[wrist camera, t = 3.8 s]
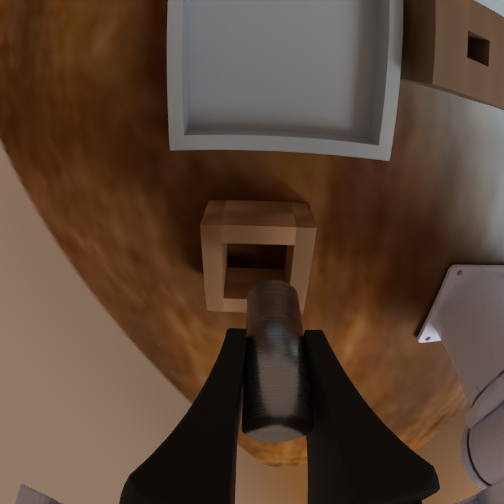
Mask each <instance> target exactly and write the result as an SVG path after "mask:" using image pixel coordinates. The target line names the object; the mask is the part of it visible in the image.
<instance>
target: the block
mask: <svg viewBox="0 0 504 504" xmlns="http://www.w3.org/2000/svg"><path fill="white" fill-rule="evenodd" d="M400 80H404V81H408V82H412V83H416V84H420V85H424V86H427V87H431V88H435V89H438V90H441V91H445V92H448V93H451V94H454V95H457V96H460V97H463V98H466V99H470V100H473V101H477V102H480V103H484V104H487V105H490V106H493V107H496V108H499V109H502V110H504V17H503V16H501V15H499V14H498V13H496V12H494V11H492V10H491V9H489V8H487V7H485V6H483V5H481V4H480V3H478V2H476V1H474V0H403V41H402V60H401V74H400Z"/></svg>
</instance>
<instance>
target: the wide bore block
mask: <svg viewBox="0 0 504 504" xmlns="http://www.w3.org/2000/svg"><path fill="white" fill-rule="evenodd" d="M200 230H201V245H202V258H203V271H204V283H205V295H206V306H207V311H226V312H246V310H247V296H248V293H249V291H250V290H251V289H252V288H253V287H254V286H255V285H257V284H258V283H261V282H263V281H267V280H280V281H284V282H286V283H288V284H290V285H291V286H293V287H294V288H295V290H296V291H297V293H298V298H299V305H300V312H301V313H303V312H304V307H305V301H306V295H307V289H308V283H309V277H310V271H311V265H312V258H313V252H314V245H315V238H316V231H317V227H316V224H315V221H314V218H313V215H312V212H311V209H310V206H309V204H308V203H300V202H276V201H245V200H209V201H208V204H207V206H206V209H205V212H204V215H203V218H202V221H201V224H200ZM227 243H239V244H273V245H287V250H286V260H285V269H267V268H233V267H228V258H227Z"/></svg>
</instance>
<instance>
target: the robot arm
mask: <svg viewBox="0 0 504 504" xmlns="http://www.w3.org/2000/svg"><path fill="white" fill-rule="evenodd" d="M458 271H459V272H458ZM246 331H247V329H237V328H230V329H228V330H227V332H226V336H225V340H224V343H223V346H222V348H221V351H220V353H219V356H218V358H217V360H216V363H215V365H214V367H213V369H212V371H211V373H210V375H209V377H208V379H207V381H206V382H205V384H204V386H203V388H202V389H201V391H200V393H199V395H198V396H197V398H196V400H195V401H194V403H193V404H192V406H191V407H190V409H189V410H188V412H187V413H186V415H185V416H184V417H183V419H182V420H181V421H180V422H179V424H178V425H177V427H176V428H175V429H174V430H173V431H172V433H171V434H170V435H169V436H168V437H167V439H166V440H165V441H164V442H163V443H162V444H161V445H160V446H159V447H158V448H157V449H156V451H155V452H154V453H153V454H152V455H151V456H150V457H149V458H148V459H147V460H146V461H144V462H143V463H142V464H141V465H140V466H139V467H138V468H137V469H136V470H135V471H134V472H132V473H131V474H130V475H129V477H128V479H127V481H126V483H125V485H124V488H123V490H122V493H121V497H120V503H119V504H235V483H236V456H237V439H238V431H239V424H240V417H241V410H242V402H243V384H244V367H245V359H246ZM417 340H418V342H420V343H423V342H433V341H442V343H443V345H444V347H445V349H446V352H447V354H448V356H449V358H450V360H451V362H452V365H453V367H454V369H455V371H456V373H457V376H458V378H459V380H460V383H461V385H462V387H463V390H464V392H465V395H466V397H467V399H468V402H469V405H470V407H471V410H470V411H469V412H468V413H467V414H466V415H465V419H466V421H467V424H468V426H467V427H466V429H465V430H464V432H463V434H462V437H461V446H460V450H461V451H460V454H461V462H462V466H463V469H464V471H465V473H466V475H467V477H468V478H469V479H470V481H471V482H472V483H473V484H475V485H476V486H477V487H478V488H480V489H481V490H482V491H481V492H479V493H478V494H476V495H474V496H472V497H469V498H467V499H465V500H463V501H460V502H458V503H455V504H504V265H452V266H451V267H450V268H449V269H448V271H447V274H446V276H445V279H444V281H443V283H442V286H441V288H440V290H439V293H438V295H437V297H436V299H435V302H434V304H433V306H432V308H431V310H430V312H429V314H428V317H427V319H426V321H425V323H424V325H423V327H422V329H421V331H420V333H419V335H418V337H417ZM304 343H305V350H306V358H307V364H308V372H309V380H310V388H311V397H312V405H313V414H314V424H315V426H314V429H313V430H312V431H311V432H310V433H309V434H307V435H306V439H307V457H308V504H422V501H421V500H423V499H425V498H427V497H429V496H431V495H432V494H434V493H436V492H437V491H438V490H439V489H440V486H439V481H438V477H437V474H436V471H435V469H434V466H432V465H431V464H429V463H428V462H427V461H425V460H424V459H423V458H421V457H420V456H419V455H417V454H416V453H415V452H414V451H412V450H411V449H410V448H409V447H408V446H407V445H405V444H404V443H403V442H402V441H401V440H400V439H399V438H398V437H397V436H396V435H395V434H394V433H393V432H392V431H391V430H390V429H389V428H388V427H387V426H386V425H385V424H384V423H383V422H382V421H381V420H380V419H379V417H378V416H377V415H376V414H375V413H374V412H373V410H372V409H371V408H370V407H369V406H368V404H367V403H366V402H365V400H364V399H363V398H362V396H361V395H360V394H359V392H358V391H357V389H356V388H355V387H354V385H353V384H352V382H351V381H350V379H349V377H348V376H347V374H346V373H345V371H344V369H343V368H342V366H341V365H340V363H339V361H338V359H337V358H336V356H335V354H334V352H333V350H332V348H331V347H330V345H329V343H328V341H327V339H326V337H325V335H324V333H323V331H322V330H305V333H304ZM16 504H62V503H59V502H57V501H56V500H54V499H52V498H50V497H48V496H46V495H44V494H42V493H40V492H38V491H36V490H33V489H31V488H29V487H27V486H25V485H23V484H21V486H20V489H19V492H18V496H17V500H16Z"/></svg>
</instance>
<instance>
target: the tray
mask: <svg viewBox="0 0 504 504" xmlns="http://www.w3.org/2000/svg"><path fill="white" fill-rule="evenodd" d="M402 41H403V0H168V12H167V98H168V125H169V144H170V151H172V150H261V151H285V152H302V153H316V154H329V155H340V156H350V157H360V158H368V159H377V160H385V161H390V156H391V149H392V143H393V136H394V129H395V121H396V113H397V105H398V96H399V85H400V74H401V60H402Z"/></svg>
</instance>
